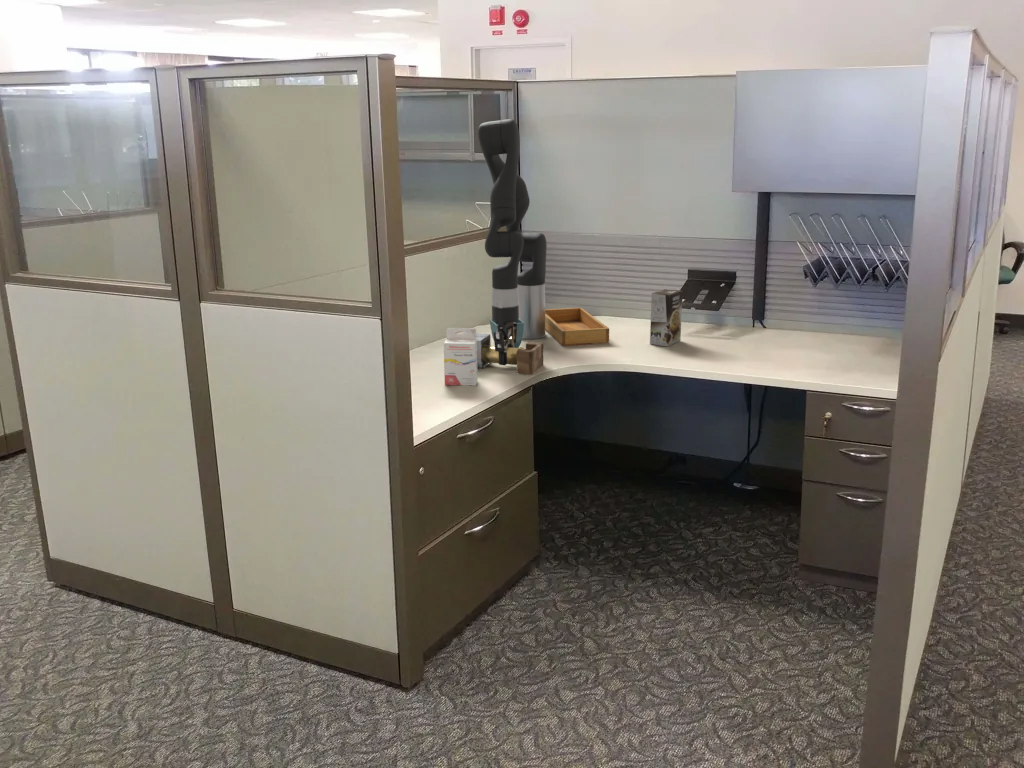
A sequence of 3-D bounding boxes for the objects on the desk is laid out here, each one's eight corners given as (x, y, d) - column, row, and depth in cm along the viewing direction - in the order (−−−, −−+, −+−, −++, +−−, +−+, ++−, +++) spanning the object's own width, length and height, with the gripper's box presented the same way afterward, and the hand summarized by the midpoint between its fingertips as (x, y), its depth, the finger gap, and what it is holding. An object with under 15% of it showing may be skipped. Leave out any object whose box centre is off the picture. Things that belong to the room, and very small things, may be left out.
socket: (528, 364, 263) (528, 342, 261) (543, 365, 262) (543, 343, 260) (516, 373, 254) (516, 350, 252) (532, 374, 252) (532, 352, 250)
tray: (609, 344, 286) (609, 326, 284) (562, 347, 283) (562, 329, 281) (581, 323, 314) (581, 307, 313) (538, 326, 311) (538, 309, 310)
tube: (468, 364, 261) (467, 346, 259) (474, 359, 265) (474, 342, 264) (521, 368, 256) (521, 350, 254) (527, 363, 260) (527, 345, 259)
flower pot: (496, 353, 275) (496, 324, 272) (489, 347, 283) (489, 318, 280) (524, 351, 277) (524, 322, 275) (517, 344, 285) (516, 316, 283)
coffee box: (667, 347, 280) (669, 295, 275) (649, 344, 284) (650, 292, 279) (681, 341, 287) (683, 290, 282) (663, 338, 290) (664, 288, 286)
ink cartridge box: (444, 385, 243) (442, 331, 239) (446, 380, 248) (444, 327, 244) (476, 385, 243) (474, 331, 239) (478, 380, 248) (476, 327, 243)
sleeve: (465, 360, 268) (464, 332, 265) (490, 362, 265) (490, 334, 263) (455, 367, 261) (454, 338, 258) (481, 369, 258) (480, 340, 256)
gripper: (501, 297, 262) (502, 355, 267) (483, 307, 249) (484, 368, 254) (526, 299, 260) (526, 357, 265) (509, 309, 247) (510, 370, 252)
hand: (506, 362), depth 259 cm, fingers closed on tube, 5 cm apart
